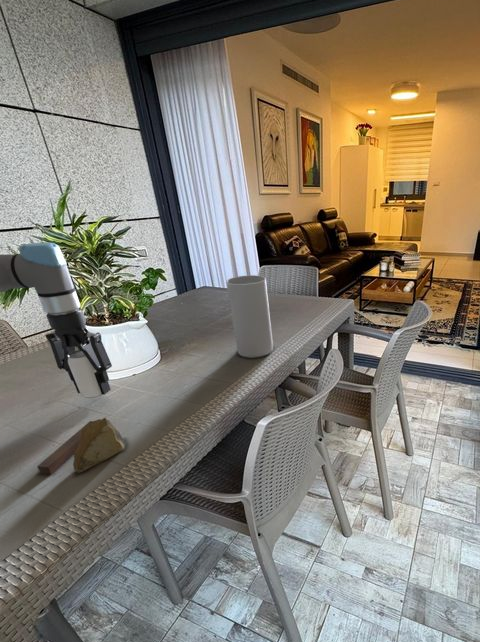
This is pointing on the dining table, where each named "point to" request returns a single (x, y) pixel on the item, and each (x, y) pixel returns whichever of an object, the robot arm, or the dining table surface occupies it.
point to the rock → (97, 444)
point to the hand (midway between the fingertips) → (94, 391)
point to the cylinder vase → (250, 315)
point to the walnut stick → (61, 454)
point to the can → (84, 375)
